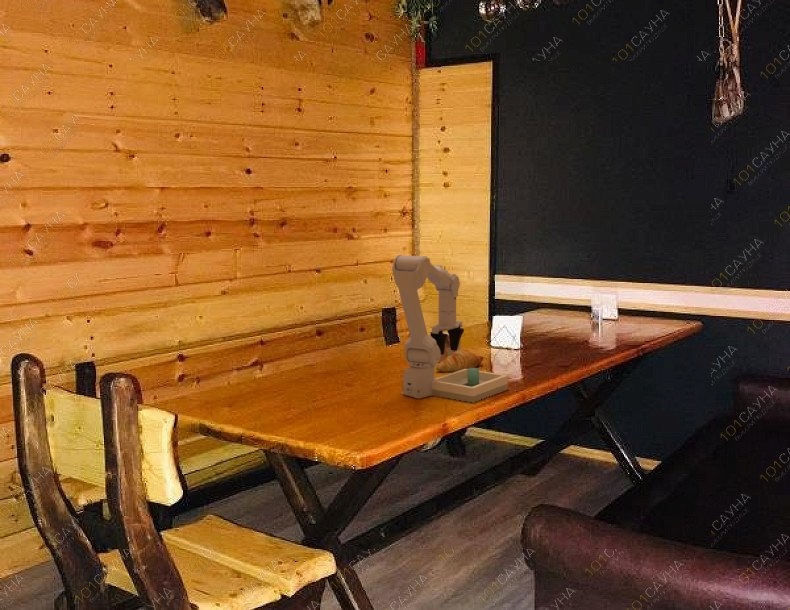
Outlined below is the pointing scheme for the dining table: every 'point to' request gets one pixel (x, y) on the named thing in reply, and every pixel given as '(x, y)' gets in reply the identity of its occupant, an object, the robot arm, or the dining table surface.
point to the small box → (448, 348)
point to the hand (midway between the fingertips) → (447, 352)
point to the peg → (473, 377)
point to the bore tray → (459, 389)
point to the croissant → (459, 361)
